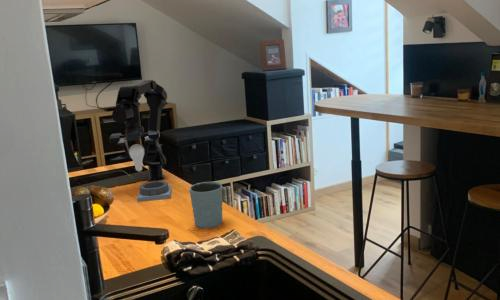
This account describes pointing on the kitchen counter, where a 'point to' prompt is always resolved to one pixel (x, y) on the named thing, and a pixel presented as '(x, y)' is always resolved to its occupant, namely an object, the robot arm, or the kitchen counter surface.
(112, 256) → the kitchen counter surface
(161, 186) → the bulb holder
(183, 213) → the kitchen counter surface
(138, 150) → the lightbulb
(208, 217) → the blue-grey cup
